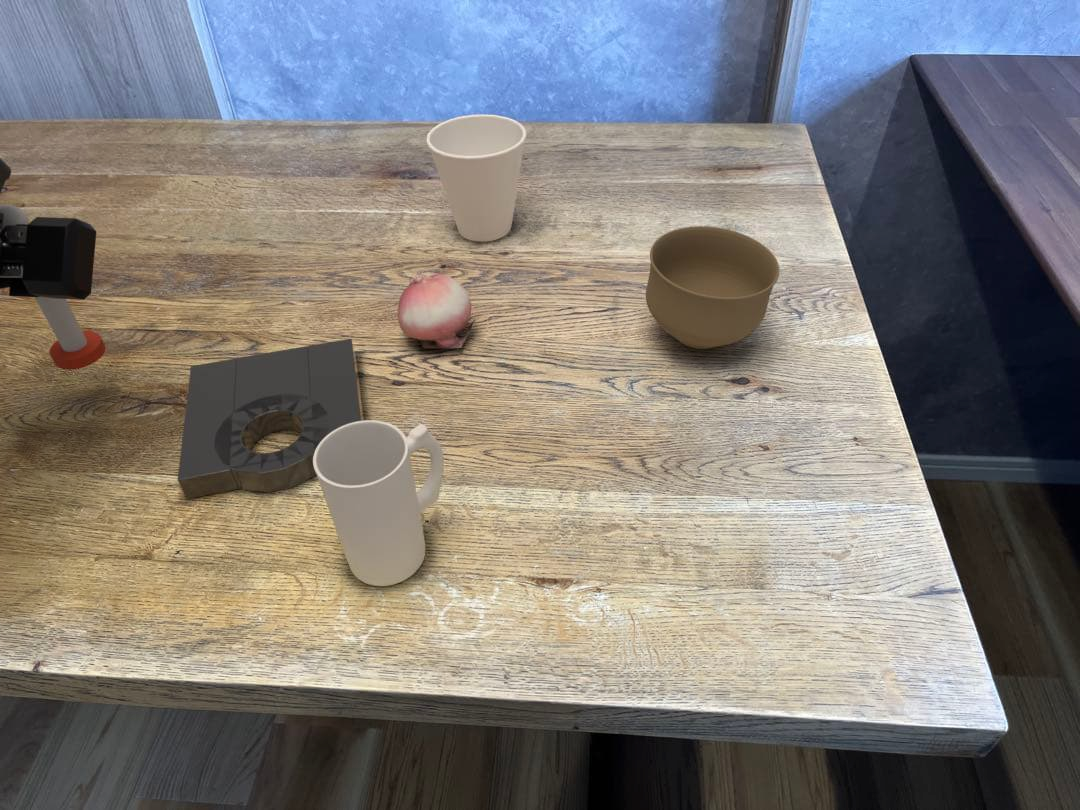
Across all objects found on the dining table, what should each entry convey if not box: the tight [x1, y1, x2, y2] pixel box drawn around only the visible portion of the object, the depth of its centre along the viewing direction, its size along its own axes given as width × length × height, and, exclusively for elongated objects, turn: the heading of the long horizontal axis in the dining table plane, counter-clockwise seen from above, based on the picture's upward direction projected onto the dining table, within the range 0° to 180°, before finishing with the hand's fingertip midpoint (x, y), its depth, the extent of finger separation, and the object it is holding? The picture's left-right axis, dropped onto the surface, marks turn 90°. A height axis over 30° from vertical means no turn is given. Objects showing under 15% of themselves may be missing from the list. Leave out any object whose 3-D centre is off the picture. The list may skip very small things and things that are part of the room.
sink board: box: [177, 338, 365, 500], centre depth 77 cm, size 16×17×2 cm
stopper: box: [0, 204, 106, 371], centre depth 73 cm, size 5×5×16 cm
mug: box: [313, 419, 445, 587], centre depth 63 cm, size 10×7×12 cm, turn 133°
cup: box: [425, 113, 527, 243], centre depth 100 cm, size 12×12×12 cm
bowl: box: [645, 225, 781, 350], centre depth 83 cm, size 13×13×10 cm
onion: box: [397, 272, 477, 349], centre depth 85 cm, size 8×8×7 cm
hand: (51, 276), depth 74 cm, fingers closed on stopper, 2 cm apart
